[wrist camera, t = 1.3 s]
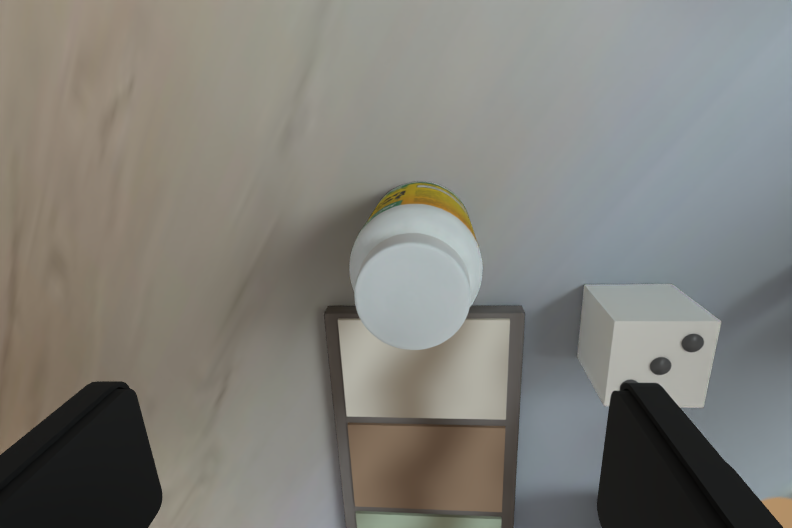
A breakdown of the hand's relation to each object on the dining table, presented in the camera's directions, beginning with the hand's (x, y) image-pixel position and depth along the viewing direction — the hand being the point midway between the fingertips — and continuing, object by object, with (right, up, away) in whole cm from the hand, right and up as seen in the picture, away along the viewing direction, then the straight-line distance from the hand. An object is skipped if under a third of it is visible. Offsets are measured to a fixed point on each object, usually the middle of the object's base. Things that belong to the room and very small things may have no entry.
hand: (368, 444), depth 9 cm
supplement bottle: (+2, +5, +16) cm, 17 cm away
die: (+13, 0, +16) cm, 21 cm away
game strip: (+2, -9, +20) cm, 22 cm away
